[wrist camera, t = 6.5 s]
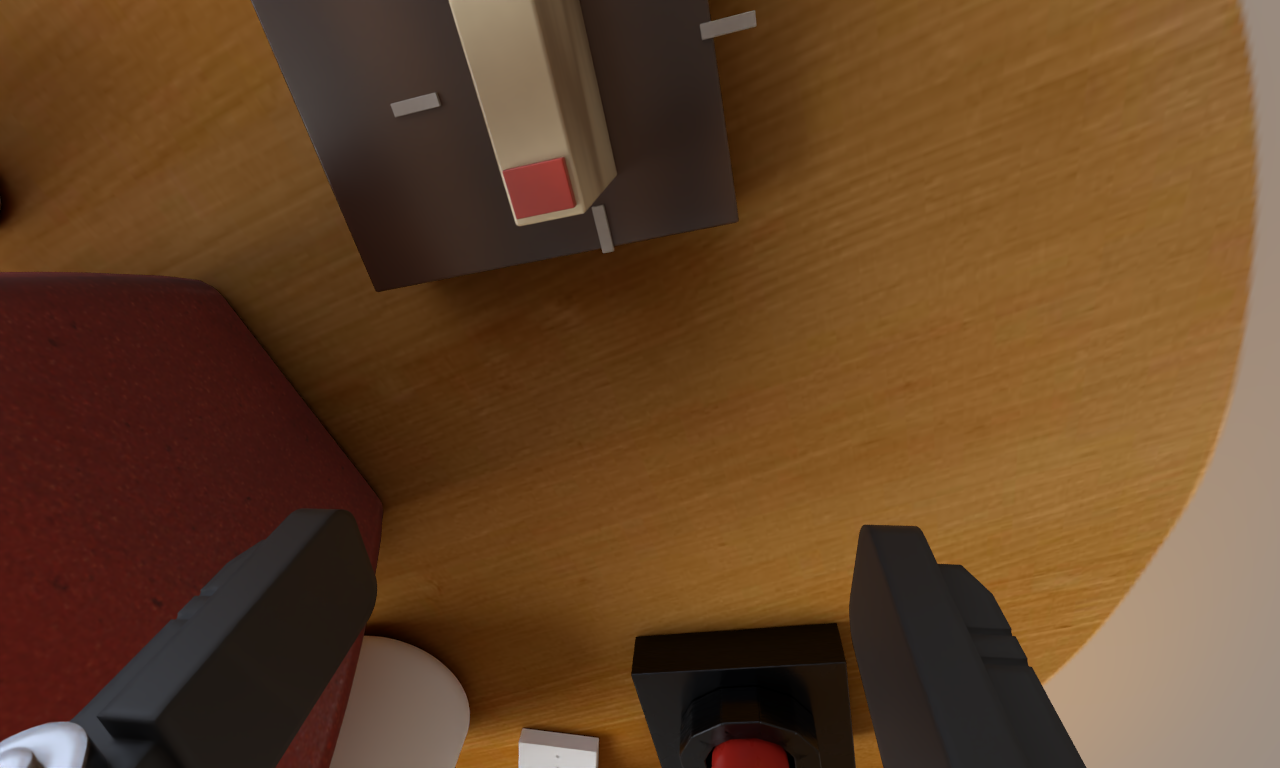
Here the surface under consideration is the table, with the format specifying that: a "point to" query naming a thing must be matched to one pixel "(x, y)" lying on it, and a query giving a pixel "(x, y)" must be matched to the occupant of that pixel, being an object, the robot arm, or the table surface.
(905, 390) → the table surface
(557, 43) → the handle
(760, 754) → the button
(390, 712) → the cup
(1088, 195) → the table surface
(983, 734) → the robot arm
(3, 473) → the plant pot
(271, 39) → the panel
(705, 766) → the button block
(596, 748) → the headphone stand
